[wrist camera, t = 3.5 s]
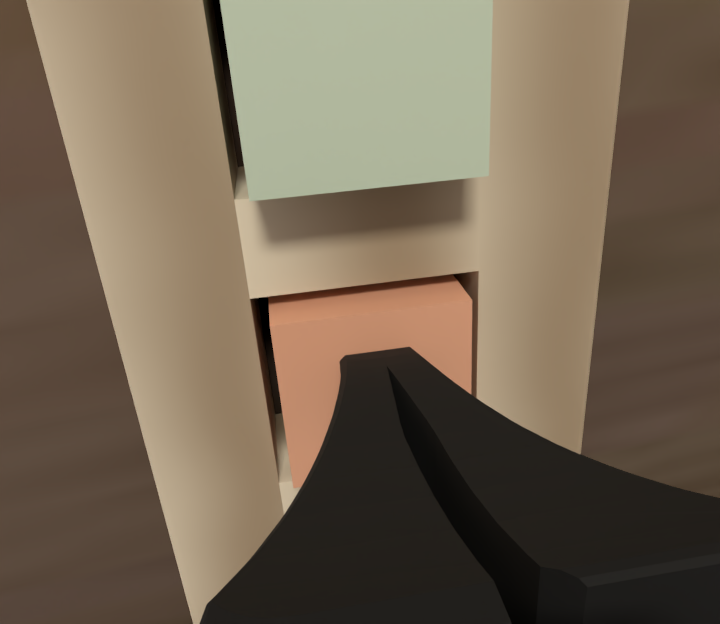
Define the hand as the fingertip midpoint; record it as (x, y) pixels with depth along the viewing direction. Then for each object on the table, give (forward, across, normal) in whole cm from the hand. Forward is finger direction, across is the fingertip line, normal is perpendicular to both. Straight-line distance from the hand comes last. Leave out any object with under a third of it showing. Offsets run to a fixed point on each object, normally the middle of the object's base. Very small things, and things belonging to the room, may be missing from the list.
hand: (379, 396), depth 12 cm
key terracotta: (+2, 0, 0) cm, 2 cm away
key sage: (+1, 0, -6) cm, 6 cm away
